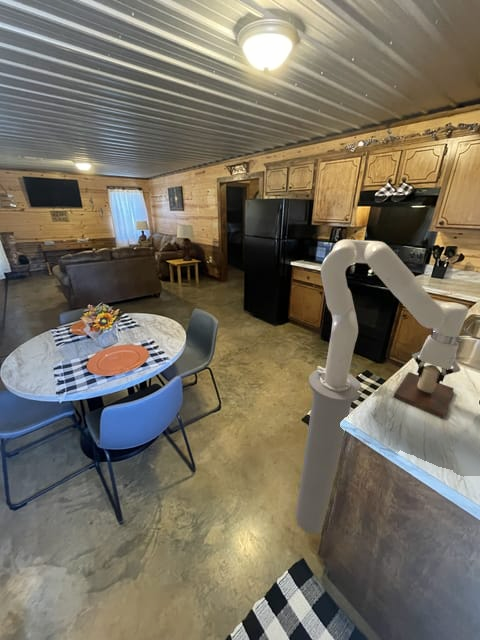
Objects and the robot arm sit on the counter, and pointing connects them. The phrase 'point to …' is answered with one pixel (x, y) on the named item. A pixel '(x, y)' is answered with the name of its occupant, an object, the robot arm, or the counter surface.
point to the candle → (429, 378)
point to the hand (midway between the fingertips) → (429, 378)
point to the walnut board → (424, 395)
